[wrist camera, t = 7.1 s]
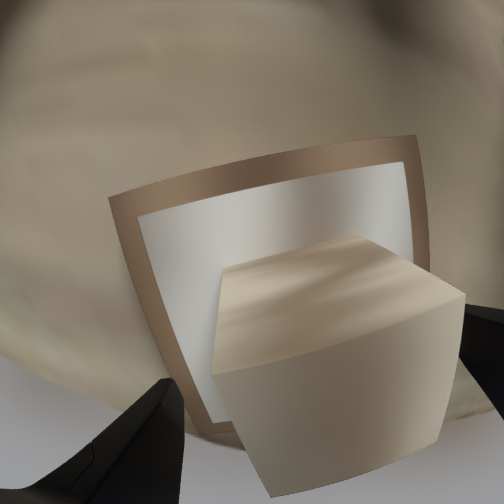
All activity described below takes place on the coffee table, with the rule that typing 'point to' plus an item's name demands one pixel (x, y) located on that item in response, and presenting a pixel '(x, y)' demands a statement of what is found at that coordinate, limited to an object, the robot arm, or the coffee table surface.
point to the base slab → (257, 237)
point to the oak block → (334, 360)
